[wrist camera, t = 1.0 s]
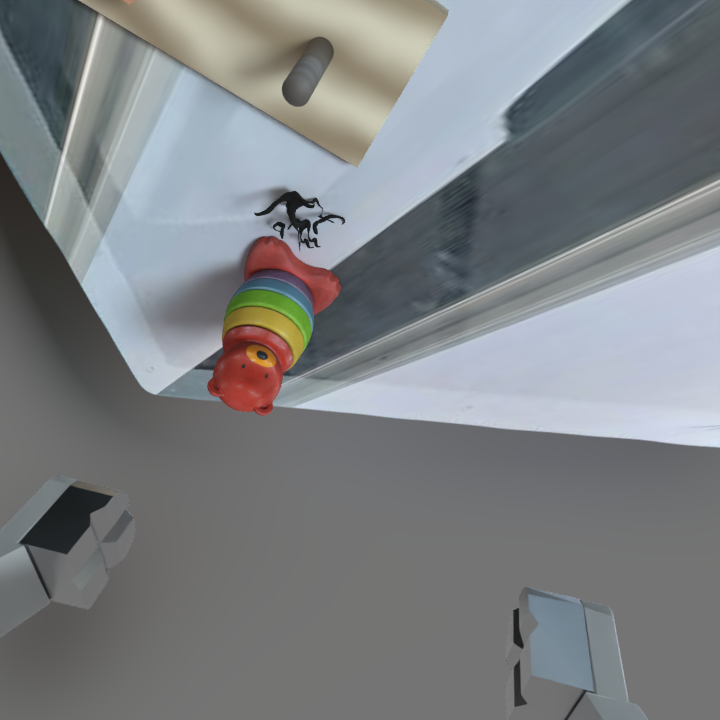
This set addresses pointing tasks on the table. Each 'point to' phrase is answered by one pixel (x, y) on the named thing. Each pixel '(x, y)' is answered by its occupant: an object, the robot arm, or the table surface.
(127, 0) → the bead
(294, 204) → the creature
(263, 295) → the stacking bear
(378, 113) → the board
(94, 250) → the table surface
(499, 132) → the table surface
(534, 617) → the robot arm
